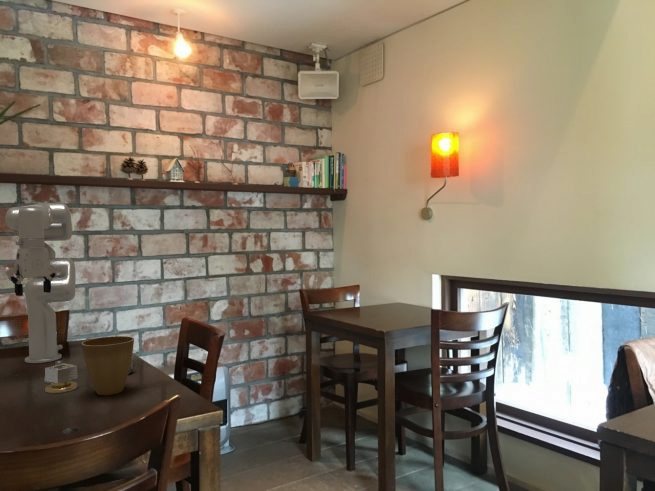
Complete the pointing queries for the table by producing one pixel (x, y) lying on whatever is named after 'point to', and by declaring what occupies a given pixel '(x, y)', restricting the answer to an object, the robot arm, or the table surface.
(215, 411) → the table surface
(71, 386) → the hub
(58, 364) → the stand
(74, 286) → the robot arm
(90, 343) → the plant pot
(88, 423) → the table surface
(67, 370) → the square sleeve
